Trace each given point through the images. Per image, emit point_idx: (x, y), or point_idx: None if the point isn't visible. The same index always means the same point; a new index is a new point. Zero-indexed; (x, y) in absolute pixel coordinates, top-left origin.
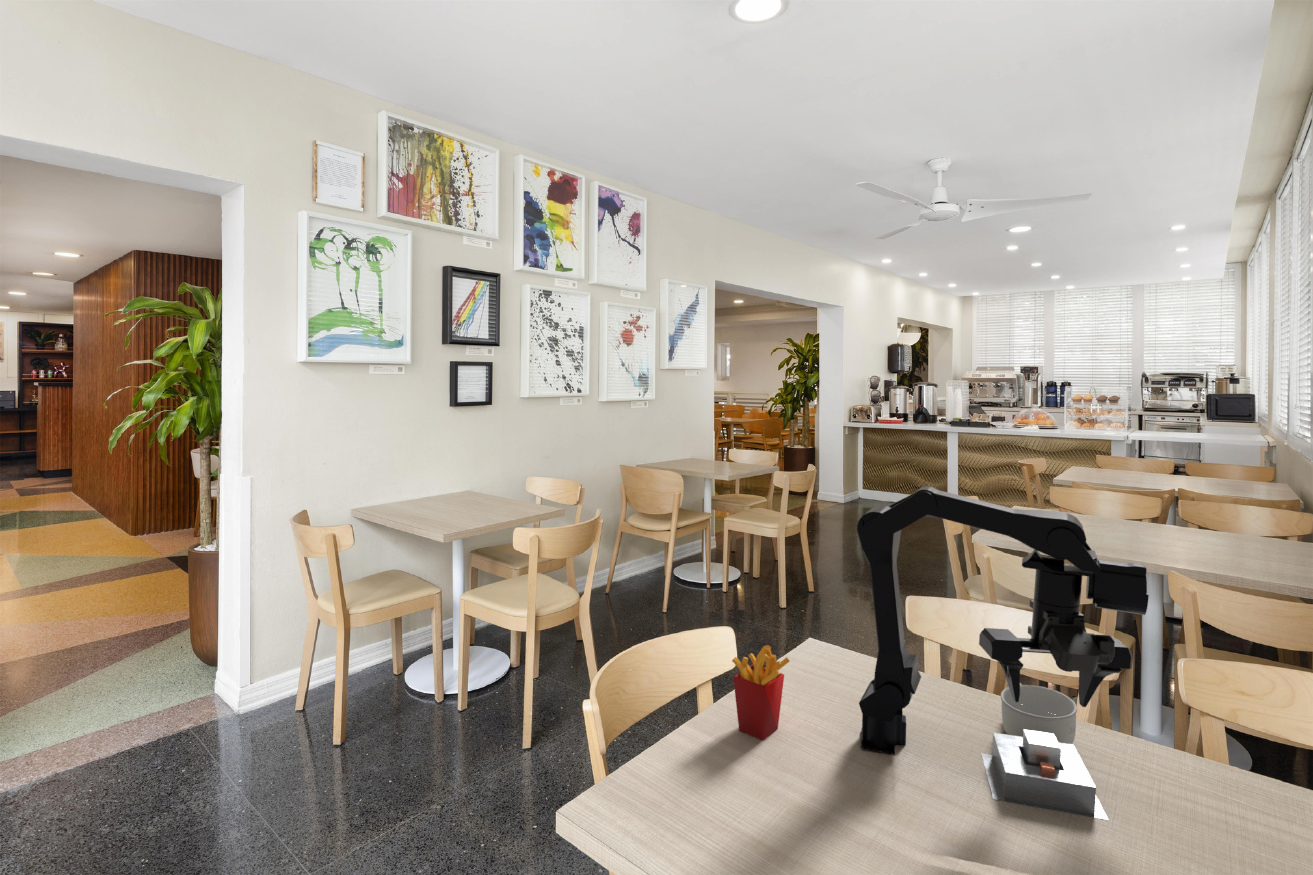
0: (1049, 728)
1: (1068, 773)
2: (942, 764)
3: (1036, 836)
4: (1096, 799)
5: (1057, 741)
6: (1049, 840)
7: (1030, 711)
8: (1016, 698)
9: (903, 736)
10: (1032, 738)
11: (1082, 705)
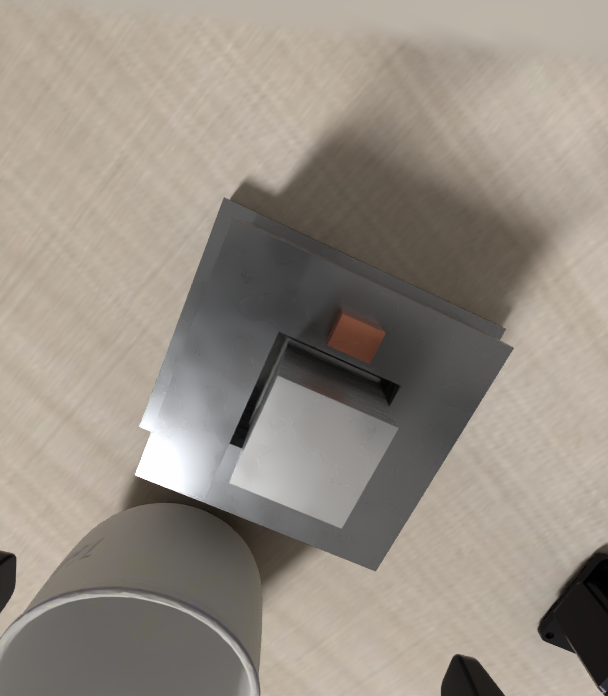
0: (169, 559)
1: (276, 315)
2: (507, 506)
3: (469, 181)
4: (193, 294)
5: (255, 426)
6: (444, 160)
7: (135, 667)
8: (492, 685)
9: (605, 610)
10: (354, 460)
11: (10, 564)
